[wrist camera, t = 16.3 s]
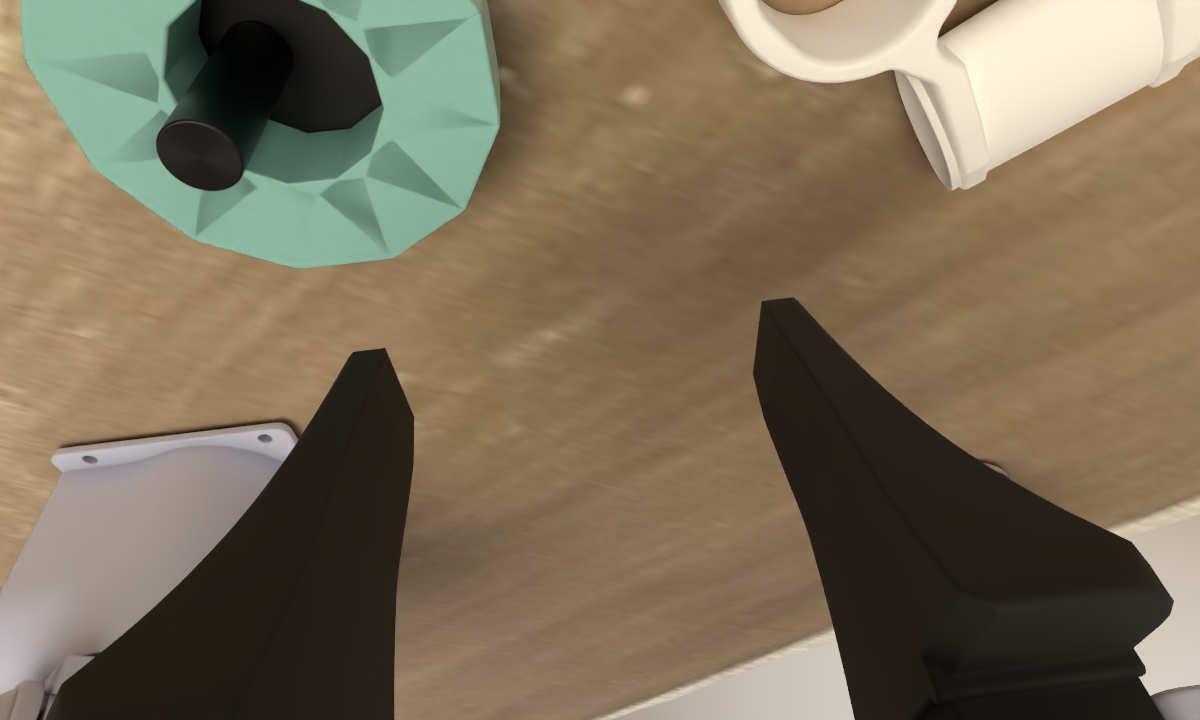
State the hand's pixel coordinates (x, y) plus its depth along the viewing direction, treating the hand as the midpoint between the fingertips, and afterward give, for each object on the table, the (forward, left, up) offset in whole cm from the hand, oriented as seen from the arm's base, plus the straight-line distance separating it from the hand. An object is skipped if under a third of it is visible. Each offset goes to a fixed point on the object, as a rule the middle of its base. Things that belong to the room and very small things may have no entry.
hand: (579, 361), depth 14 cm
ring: (-6, +3, -9) cm, 11 cm away
